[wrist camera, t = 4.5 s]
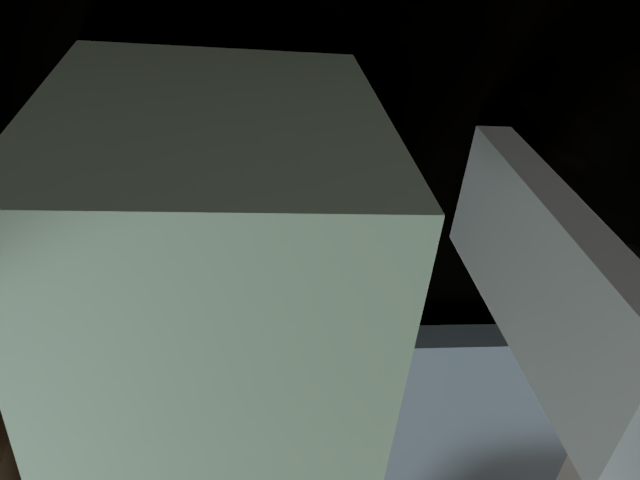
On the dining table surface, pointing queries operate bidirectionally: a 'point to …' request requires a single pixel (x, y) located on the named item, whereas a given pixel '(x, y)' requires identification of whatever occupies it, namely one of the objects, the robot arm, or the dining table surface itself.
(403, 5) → the dining table surface
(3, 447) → the walnut block
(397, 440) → the board
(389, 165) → the sage block
